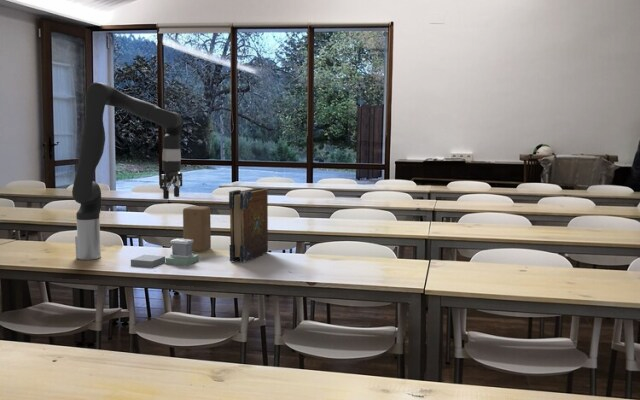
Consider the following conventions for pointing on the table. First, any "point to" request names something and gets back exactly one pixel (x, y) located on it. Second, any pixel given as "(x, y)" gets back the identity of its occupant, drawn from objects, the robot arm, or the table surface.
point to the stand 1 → (147, 261)
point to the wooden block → (197, 227)
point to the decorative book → (248, 223)
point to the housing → (182, 248)
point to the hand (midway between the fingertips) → (171, 197)
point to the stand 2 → (182, 260)
